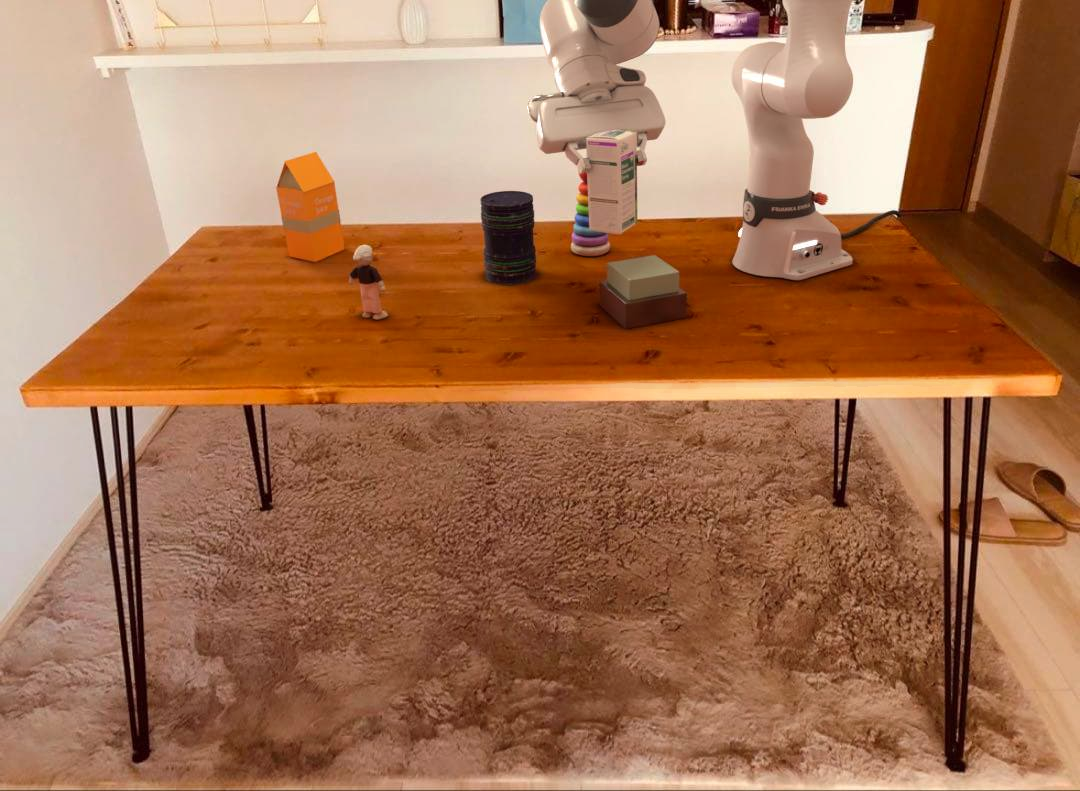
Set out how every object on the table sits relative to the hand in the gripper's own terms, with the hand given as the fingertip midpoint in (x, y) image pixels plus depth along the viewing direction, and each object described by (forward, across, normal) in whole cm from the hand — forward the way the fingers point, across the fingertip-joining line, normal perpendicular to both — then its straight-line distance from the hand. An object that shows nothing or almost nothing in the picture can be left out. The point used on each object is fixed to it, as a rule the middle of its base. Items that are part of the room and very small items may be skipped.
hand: (614, 167), depth 128 cm
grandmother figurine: (+3, -37, +33) cm, 49 cm away
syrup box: (+6, 0, +7) cm, 10 cm away
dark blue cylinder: (-2, -9, +39) cm, 40 cm away
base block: (+16, +6, +20) cm, 27 cm away
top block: (+13, +6, +17) cm, 23 cm away
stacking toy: (-6, +10, +43) cm, 45 cm away
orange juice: (-24, -42, +60) cm, 77 cm away
